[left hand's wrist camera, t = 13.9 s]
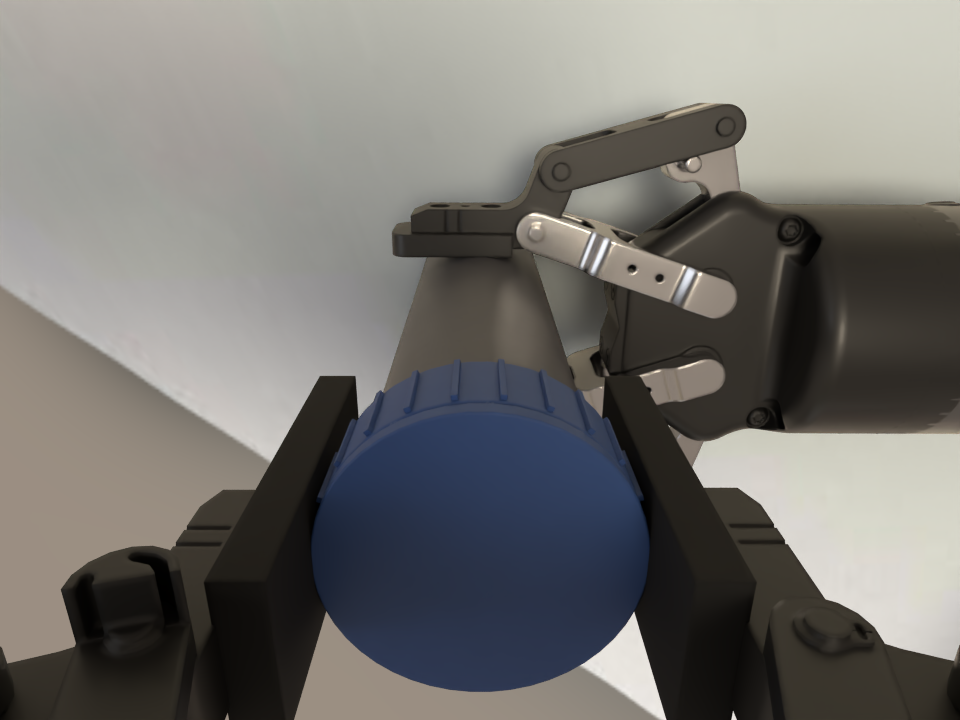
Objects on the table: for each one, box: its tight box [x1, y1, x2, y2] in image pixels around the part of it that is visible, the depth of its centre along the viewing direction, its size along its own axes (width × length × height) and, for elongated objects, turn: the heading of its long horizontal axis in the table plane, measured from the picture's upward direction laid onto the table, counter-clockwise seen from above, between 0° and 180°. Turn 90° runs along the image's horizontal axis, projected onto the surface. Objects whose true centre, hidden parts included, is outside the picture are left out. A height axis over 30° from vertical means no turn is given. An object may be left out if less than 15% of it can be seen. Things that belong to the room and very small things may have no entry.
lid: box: [311, 359, 650, 692], centre depth 12 cm, size 6×6×2 cm
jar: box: [383, 249, 577, 393], centre depth 20 cm, size 5×5×18 cm
